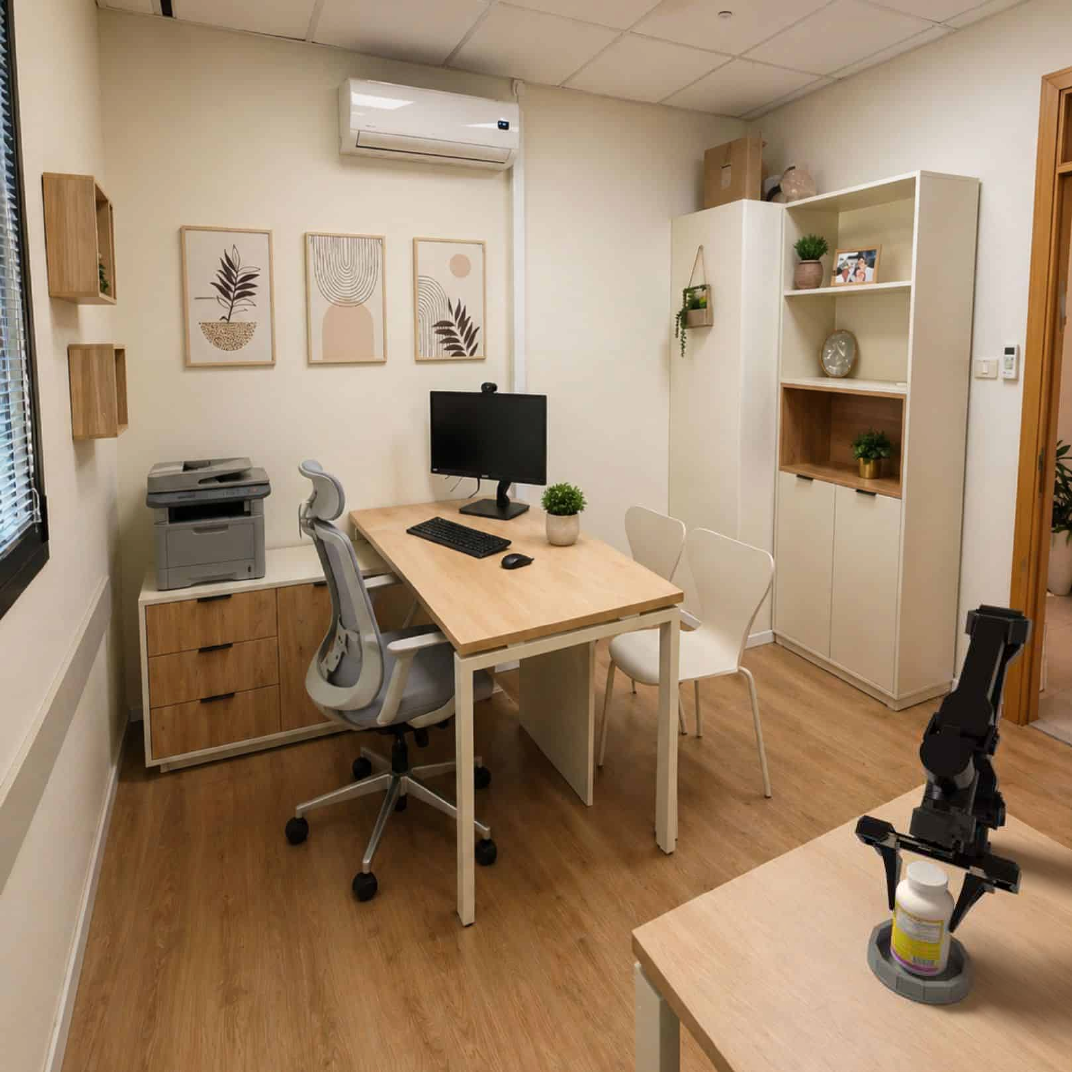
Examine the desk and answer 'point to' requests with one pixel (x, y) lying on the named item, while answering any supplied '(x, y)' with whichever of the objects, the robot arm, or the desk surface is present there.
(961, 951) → the grey round tray
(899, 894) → the supplement bottle
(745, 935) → the desk surface
